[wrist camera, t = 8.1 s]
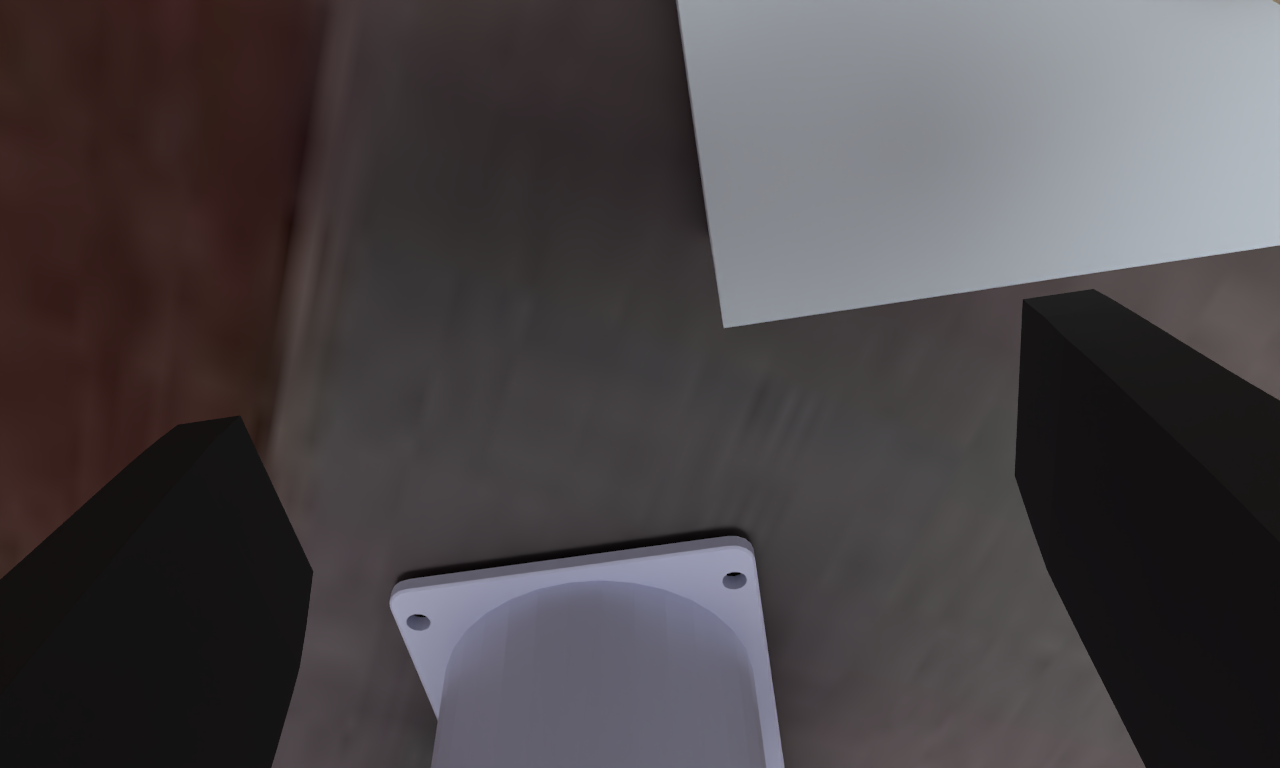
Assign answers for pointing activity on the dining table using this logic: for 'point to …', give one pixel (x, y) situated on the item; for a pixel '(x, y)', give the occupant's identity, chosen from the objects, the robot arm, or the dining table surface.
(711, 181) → the grey-blue platform
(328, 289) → the dining table surface
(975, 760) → the dining table surface
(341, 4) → the dining table surface
